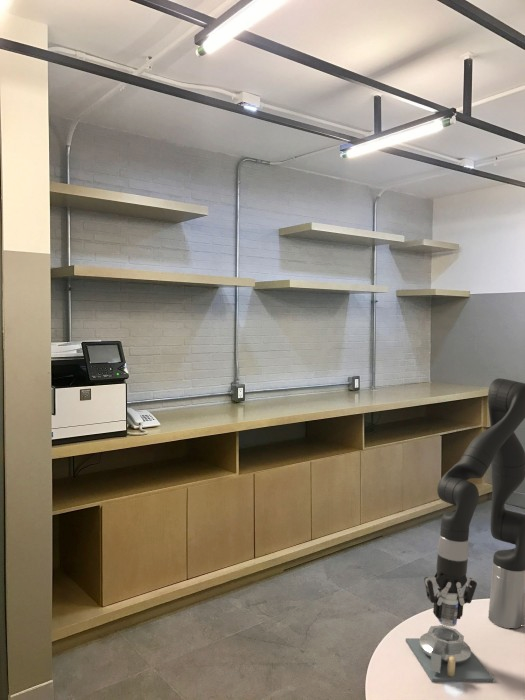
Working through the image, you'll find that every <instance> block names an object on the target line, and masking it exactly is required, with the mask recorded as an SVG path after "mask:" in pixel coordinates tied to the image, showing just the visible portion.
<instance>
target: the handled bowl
mask: <svg viewBox="0 0 525 700" xmlns="http://www.w3.org/2000/svg"><path fill="white" fill-rule="evenodd" d="M464 637H465V636H464V635H463V634H462V633H461V632H460V631H459V630H457V628H453V627H450V626H445V625H442V624H440V625H431V626H430V627H429V629H428V631H427V632H425V633H424V634H422V635H421V636H420V637H419V638H420V641H419V646H420V648H421V650H422V651H423V652H424V653H425V654H427V655H428V656H430V657H431V664H430V670H432V671H435V672H438V673H440V672H441V669H442V667H443V665H444V662H446V663H448V657H449V656H453V657H455V658H456V662H455V663H463V662H466V661H468V660H469V659H470V656H471V651H472V649H471V647H470V646H469V644H468V643H467V642H466V641H465V639H464Z"/></svg>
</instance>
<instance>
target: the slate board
mask: <svg viewBox="0 0 525 700" xmlns="http://www.w3.org/2000/svg"><path fill="white" fill-rule="evenodd" d="M419 641H420V637H419V638H414V637H413V638H410V637H408V638H405V643H406V644H407V645H408V647H409V649H410V651H411V652H412V654H413V655H414V657H415V658H416V660H417V661H418V663H419V664H420V666H421V668H422V669H423V671H424V672H425V673H426V676H427V677H428V679H429V680H430V682H432V683H455V682H456V683H469V682H470V683H475V682H476V683H477V682H478V683H480V682H481V683H484V682H485V683H487V682H489V683H493V682H495V678H494V677H493V676H492V675H493V674H491V673H490V672H489V670H488V669H487V668H486V667H485V666H484V664H483V663H482V662H481V661H480V660H479V658H478V657H477V656H476V655H475V653H474V652H473V651H472V650H471V656H470V659H469V660H468V661H466V662H463V663H455V662H456V658H455V657H453V656H449V657H448V663H446V662H444V665H443V667H442V669H441V672H440V673H438V672H435V671H432V670H430V664H431V657H430V656H428V655H427V654H425V653H424V652H423V651H422V650H421V648H420V646H419Z"/></svg>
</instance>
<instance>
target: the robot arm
mask: <svg viewBox="0 0 525 700" xmlns="http://www.w3.org/2000/svg"><path fill="white" fill-rule="evenodd" d="M487 393H488V394H487V407H488V415H489V416H488V417H489V422H490V427H488V428H487V429H486V430H483V432H481V433H479V434H477V436H475V437H474V438H473V439H472V440H471V442H469V445H468V446H467V448H466V449H465V450H464V452H463V455H462V456H461V458H460V460H458V461H457V462H456V463H455V464H454V465H453V466H452V467H451V468H450V469H449V470H448V471H447V472H445V473H444V474H443V475H442V477H440V480H439V481H438V483H437V489H436V491H437V495H438V498H439V499H440V500H441V501H442V502H444V503H448V504H450V505H453V506H455V507H456V509H455V512H453V511H451V512H444V513H443V515H442V517H441V520H440V521H441V522H440V533H439V535H440V536H439V539H438V544H437V555H436V556H437V558H436V573H435V574H434V576H433V577H428V576H426V577H424V585H425V586H424V587H425V592H426V596H427V599H428V600H429V601H430V603H432V604H433V609H432V610H433V611H432V613H433V614H434V616H435V617H436V619H437V620H438V619H441V610H442V605H441V604H442V601H443V599H444V598H445V597H446V595H447V593H458V595H457V600H458V613H457V620H460V619H461V617H463V613H464V605H465V604H470V603H472V600H473V597H474V594H475V592H476V589H477V586H478V583H477V582H476V580H475V579H473V578H472V577H467V572H468V560H469V559H468V557H469V536H470V534H469V533H470V524H471V522H472V519H473V516H474V513H475V511H476V509H477V506H478V504H479V499H480V493H479V489H478V487H477V485H476V484H475V483H474V482H472V481H468V480H470V479H481V478H483V477H484V476H485V474H486V473H487V471H488V469H489V468H491V469H490V470H491V486H492V487H491V489H492V490H491V492H492V493H491V494H492V497H491V510H490V526H489V527H490V534H491V536H492V538H494V539H495V540H498V541H501V542H505V543H508V544H511V545H515V547H514V548H509V549H501V550H500V549H499V550H497V551H495V552H494V554H493V558H492V567H491V581H490V583H491V584H490V593H489V595H490V596H489V605H488V616H487V618H488V620H489V621H490V622H491V623H492V624H494V625H496V626H499V627H501V628H505V629H509V628H517V629H519V628H518V627H520V626H521V625H525V514H524V513H520V512H518V511H517V512H516V511H512V510H507V509H506V508H505V505H506V503H507V500H508V499H509V498H510V496H512V494H513V493H514V492H515V491H516V490H517V489H518V488H519V487H520V486H521V484H522V483H523V481H525V449H524V447H523V445H522V443H521V441H520V440H519V438H518V437H517V435H516V433H515V431H516V430H517V428H518V427H519V426H520V425H521V423H523V421H524V420H525V382H521V381H517V380H516V381H515V380H511V379H507V378H499V377H497V378H495V379H493V380H492V382H491V383H490V385H489V388H488V392H487ZM490 465H491V467H490ZM435 584H437V586H436V589H435V591H434V588H435ZM464 586H465V588H464V591H463V589H462V588H463V587H464ZM521 627H522V626H521ZM521 627H520V628H521Z"/></svg>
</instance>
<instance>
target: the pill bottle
mask: <svg viewBox="0 0 525 700" xmlns="http://www.w3.org/2000/svg"><path fill="white" fill-rule="evenodd" d="M457 595H458V593H447V595H446V597H445V598H444V599H443V601H442V604H441V605H442V610H441V619H437V621H438V622H439V623H440V625H443V626H447V627H450V628H453V627H456V626H457V622H458V619H457V613H458V600H457Z"/></svg>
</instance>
